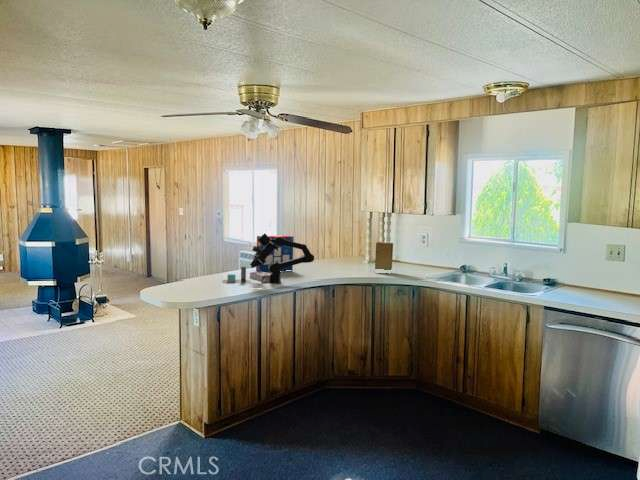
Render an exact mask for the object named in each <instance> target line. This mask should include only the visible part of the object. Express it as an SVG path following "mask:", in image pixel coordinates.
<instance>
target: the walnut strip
mask: <svg viewBox="0 0 640 480" xmlns="http://www.w3.org/2000/svg"><path fill="white" fill-rule="evenodd" d="M246 276H247V267H246V266H241V268H240V279H235V282H228V279H222V282H221V283H222V284H252V280H251V279H246V278H247V277H246Z"/></svg>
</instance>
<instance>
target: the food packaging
mask: <svg viewBox="0 0 640 480" xmlns="http://www.w3.org/2000/svg"><path fill="white" fill-rule="evenodd" d="M393 256H394V242H385V241H383V242H382V241H377V242H376V243H375V261H374V265H375V266H374V270H375V269H384V270H391V269H392V270H393Z"/></svg>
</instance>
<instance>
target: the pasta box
mask: <svg viewBox="0 0 640 480" xmlns="http://www.w3.org/2000/svg"><path fill="white" fill-rule="evenodd" d="M260 236H261V235H257V236H256V247H257V246H258V247H260V249H262V248H265V247H266V246H267V245H268V244H269V243H268V244H267V245H266V246H265V245H264V246H263V245H262V244H261V243H260V242H259V241H258V238H259V237H260ZM267 236H268V237H269V238H270V239H271V238H275V237H276V236H277V235H267ZM278 236H279V237H281V238H283V239H285V240H288V241H292V242H294V240H295V239H294V238H295V236H292V235H278ZM269 242H270V243H271V244H275V243H272V242H271V241H269ZM275 246H276V247H277V246H278V251H277V250H276V249H275V250H274V251H273V252H272V253H271V254H270V255H269V256H268V257H266V258H265V263H264V264H263V263H262V264H261V265H259V266H256V267H255V272H256V271H257V272H269V273H272V272H271V271H270V270H269V268H268V267H269V264H271V263H272V262H275V261H278V263H281V262H285V261H288V260H292V259H294V247H290V246H280V245H276V244H275ZM293 266H294V265H292V266H289V267H285V268H282V269H281V270H279V271H286V270H293Z"/></svg>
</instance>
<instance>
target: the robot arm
mask: <svg viewBox="0 0 640 480" xmlns="http://www.w3.org/2000/svg"><path fill="white" fill-rule="evenodd" d="M259 236H260V237H259V238H258V241H259V242H260V243H261V244H262V245H263V246H264V245H265V246H266V245H267V244H268V243H269V244H268V245H267V246H266V247H265V248H262V249H260V247H258V246H257V245H253V247H252V249H251V250H252V252H255V253H254V255H253V256H254V257H253V260H251V263H250V265H249V266H250V268H251V269H254V268H256V266H259V265H261V264H262V263H263V264H264V263H265V258H266V257H268V256H269V255H270V254H271V253H272V252H273V251H274V250H275V249H276V250H277V251H278V246H277V247H276V246H275V244H276V245H280V246H290V247H293V249H298V250H301V251H302V253H303V255H301V256H299V257H297V258H296V257H295V258H293V259H292V260H288V261H285V262H281V263H278V261H275V262H272V263H271V264H269V267H268V268H269V270H270V271H271V272H270V274H271V276H270V282H269V284H273V285H275V284H277V285H279V284H281V283H282V281H281V279H282V278H281V276H282V275H281V273H282V272H280V271H279V270H281V269H282V268H285V267H289V266H292V265H293V266H296V265H298V264H307V263H312V262H314V260H315V256H314V254H312V253H311V252H310V250H309V248H308V246H307V245H306V244H305V243H300V242H295V241H293V242H292V241H288V240H285V239H283V238H281V237H279V236H280V235H275V236H276V237H275V238H271V239H270V238H269V237H268V236H269V235H267V234H266V233H263V234H262V235H259ZM269 241H271V242H272V243H275V244H271V243H270V242H269Z"/></svg>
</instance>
